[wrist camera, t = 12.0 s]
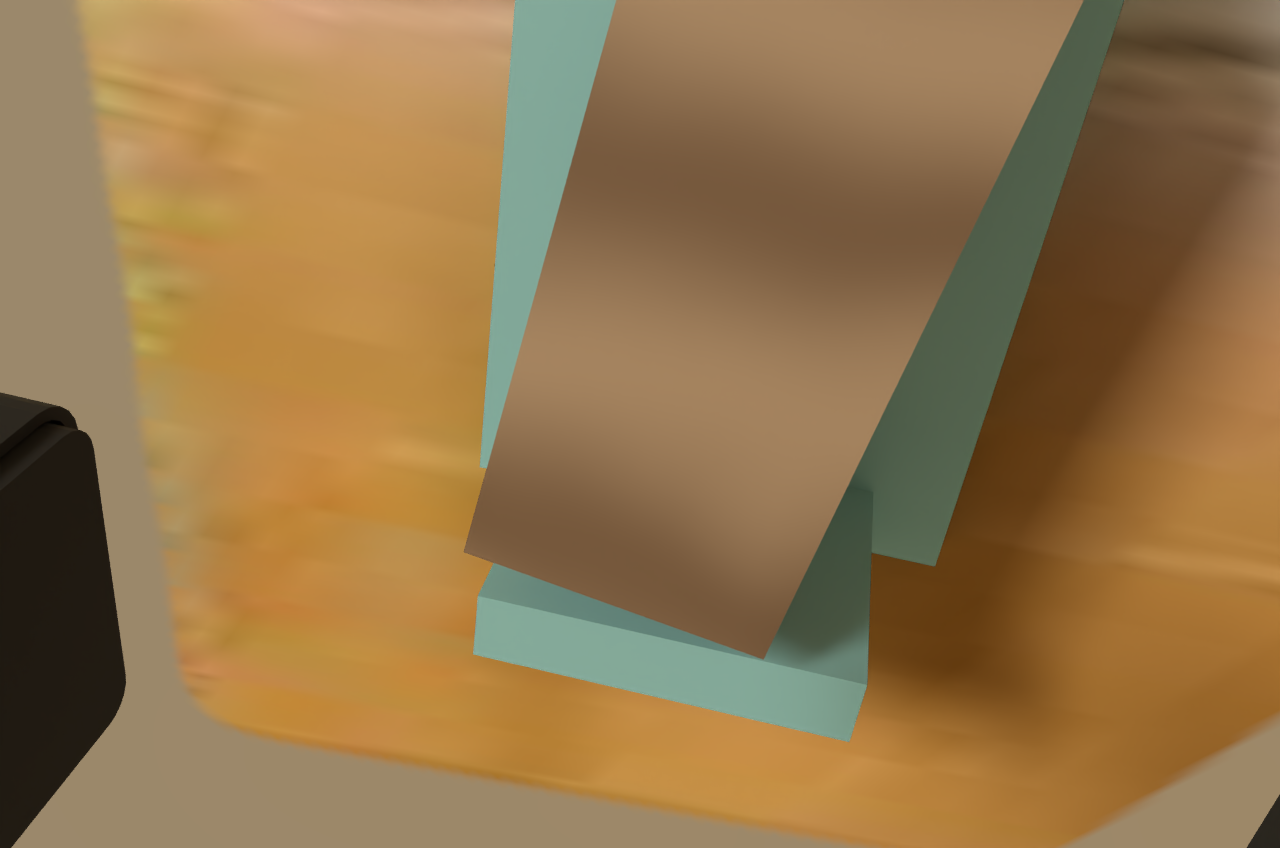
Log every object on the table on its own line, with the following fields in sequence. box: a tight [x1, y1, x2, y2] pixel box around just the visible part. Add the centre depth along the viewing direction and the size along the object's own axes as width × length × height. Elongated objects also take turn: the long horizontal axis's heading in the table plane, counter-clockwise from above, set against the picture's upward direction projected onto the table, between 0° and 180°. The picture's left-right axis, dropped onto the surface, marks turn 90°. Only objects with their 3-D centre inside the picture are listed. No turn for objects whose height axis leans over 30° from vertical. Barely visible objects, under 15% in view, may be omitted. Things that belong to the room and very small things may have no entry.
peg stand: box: [473, 0, 1124, 742], centre depth 23 cm, size 22×12×8 cm, turn 172°
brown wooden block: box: [464, 0, 1084, 660], centre depth 20 cm, size 16×6×5 cm, turn 163°
